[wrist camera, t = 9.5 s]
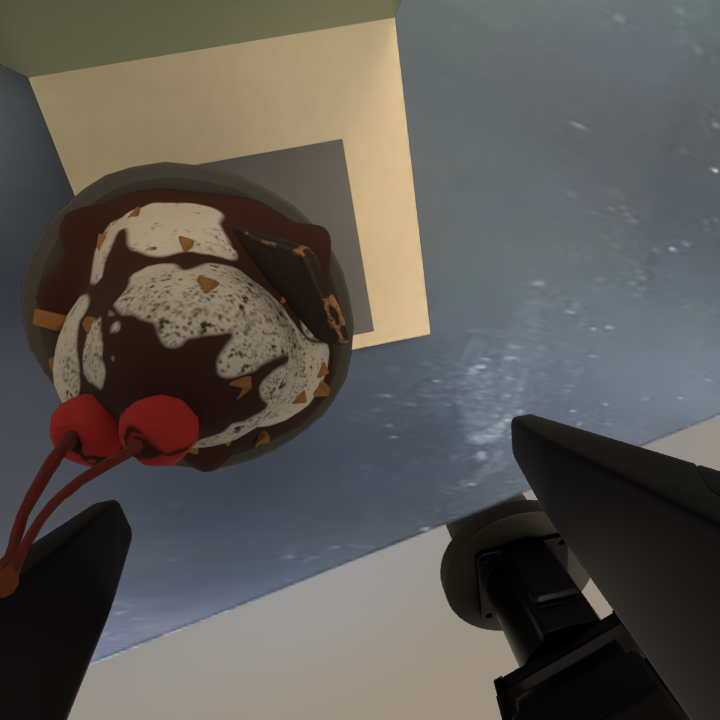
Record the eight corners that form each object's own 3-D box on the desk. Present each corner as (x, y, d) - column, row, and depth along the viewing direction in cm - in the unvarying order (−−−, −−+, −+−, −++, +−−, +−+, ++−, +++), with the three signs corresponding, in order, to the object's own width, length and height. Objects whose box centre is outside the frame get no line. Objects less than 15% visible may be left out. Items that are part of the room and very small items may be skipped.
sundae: (177, 333, 19) (-223, 714, 5) (178, 175, 16) (-594, -20, 2) (320, 348, 20) (350, 694, 6) (339, 202, 17) (465, 181, 3)
